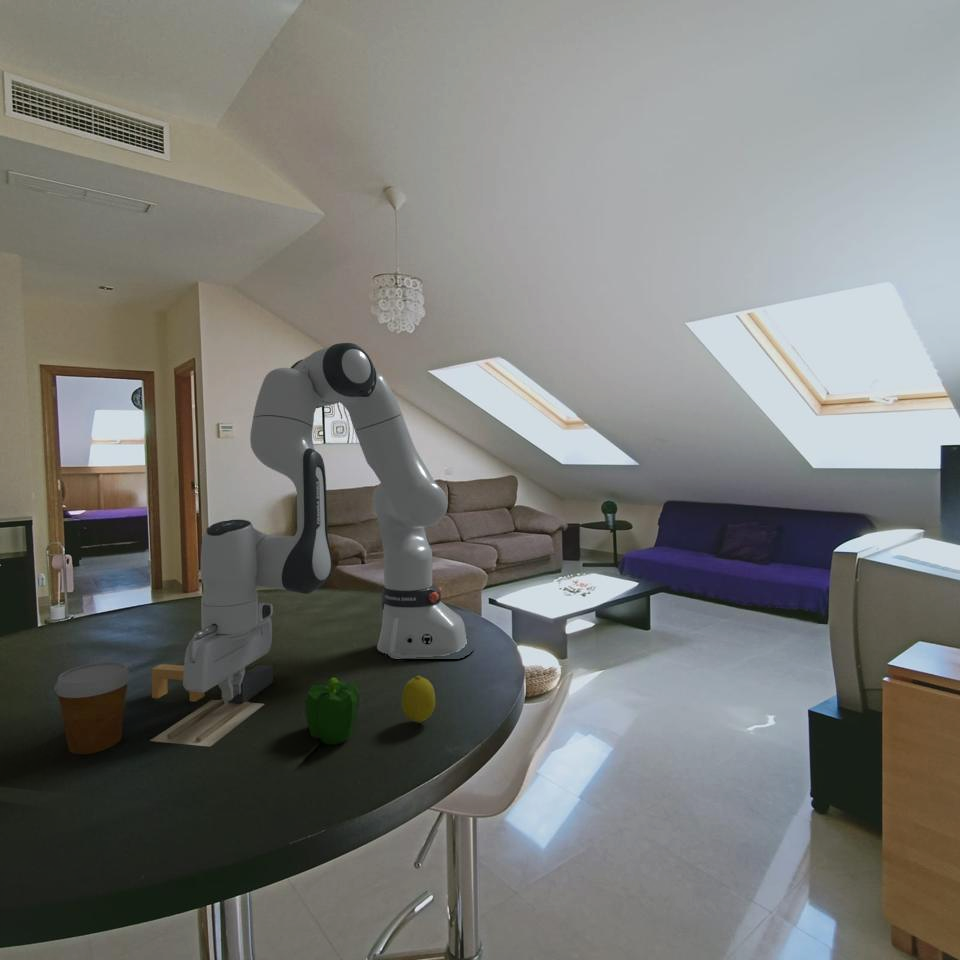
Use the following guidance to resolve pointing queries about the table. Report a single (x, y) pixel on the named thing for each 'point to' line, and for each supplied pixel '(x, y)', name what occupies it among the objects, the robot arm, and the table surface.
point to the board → (208, 723)
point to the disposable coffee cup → (93, 705)
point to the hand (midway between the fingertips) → (231, 697)
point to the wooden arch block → (169, 672)
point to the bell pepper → (332, 711)
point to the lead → (254, 683)
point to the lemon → (418, 699)
